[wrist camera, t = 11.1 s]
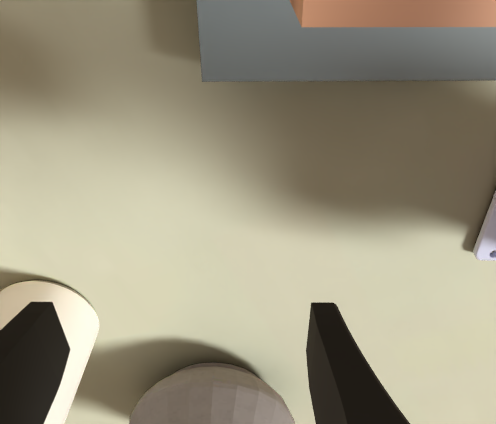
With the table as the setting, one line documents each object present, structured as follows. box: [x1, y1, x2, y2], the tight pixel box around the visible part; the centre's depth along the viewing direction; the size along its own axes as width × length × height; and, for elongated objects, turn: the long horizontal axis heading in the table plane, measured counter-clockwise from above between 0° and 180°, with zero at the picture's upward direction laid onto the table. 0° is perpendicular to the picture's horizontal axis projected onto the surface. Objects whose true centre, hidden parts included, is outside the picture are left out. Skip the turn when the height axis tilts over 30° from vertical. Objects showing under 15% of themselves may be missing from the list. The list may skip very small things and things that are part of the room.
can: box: [0, 280, 99, 424], centre depth 22 cm, size 6×6×12 cm
